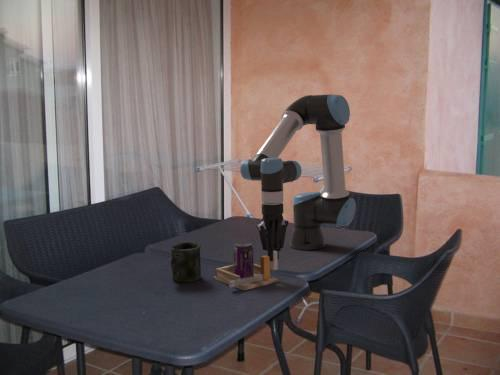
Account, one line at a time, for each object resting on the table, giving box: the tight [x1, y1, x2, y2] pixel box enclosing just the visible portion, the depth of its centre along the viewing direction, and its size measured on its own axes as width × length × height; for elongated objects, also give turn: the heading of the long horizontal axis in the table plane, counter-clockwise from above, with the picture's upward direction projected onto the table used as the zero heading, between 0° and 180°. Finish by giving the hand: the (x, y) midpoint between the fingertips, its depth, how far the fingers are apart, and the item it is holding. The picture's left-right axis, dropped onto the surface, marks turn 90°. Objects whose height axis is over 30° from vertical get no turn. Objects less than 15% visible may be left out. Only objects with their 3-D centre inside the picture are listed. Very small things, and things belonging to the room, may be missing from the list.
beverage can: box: [232, 241, 255, 279], centre depth 212 cm, size 7×7×12 cm
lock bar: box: [228, 254, 271, 289], centre depth 205 cm, size 16×2×8 cm, turn 127°
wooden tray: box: [213, 263, 279, 291], centre depth 212 cm, size 15×18×4 cm
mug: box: [169, 241, 202, 283], centre depth 214 cm, size 11×15×12 cm
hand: (273, 269), depth 211 cm, fingers closed
